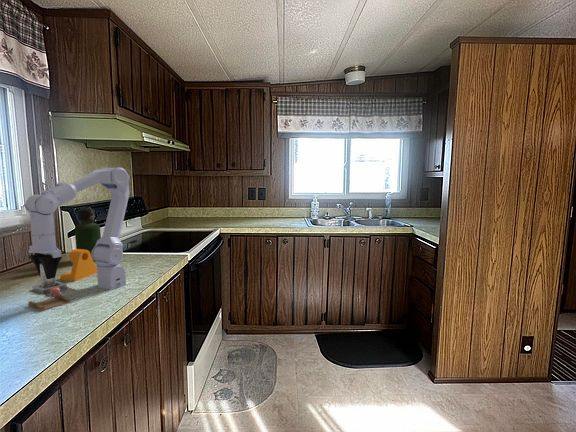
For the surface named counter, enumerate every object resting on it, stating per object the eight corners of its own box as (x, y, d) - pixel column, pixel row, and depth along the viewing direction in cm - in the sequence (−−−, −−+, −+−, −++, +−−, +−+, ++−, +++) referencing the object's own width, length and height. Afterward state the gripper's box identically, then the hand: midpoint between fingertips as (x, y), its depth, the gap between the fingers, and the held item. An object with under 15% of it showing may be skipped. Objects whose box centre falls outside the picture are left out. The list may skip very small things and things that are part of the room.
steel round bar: (58, 283, 102) (56, 262, 101) (46, 287, 99) (44, 265, 98) (50, 282, 103) (48, 261, 102) (38, 285, 100) (36, 263, 99)
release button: (61, 295, 111) (61, 288, 111) (53, 297, 109) (53, 290, 109) (57, 293, 112) (57, 287, 112) (50, 296, 110) (49, 289, 110)
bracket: (82, 274, 135) (79, 245, 134) (97, 275, 134) (95, 246, 132) (59, 282, 125) (56, 252, 123) (75, 283, 123) (73, 253, 122)
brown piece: (70, 305, 103) (70, 298, 103) (42, 314, 96) (41, 307, 96) (57, 300, 107) (56, 293, 107) (28, 308, 100) (28, 302, 100)
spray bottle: (74, 263, 150) (70, 210, 147) (80, 258, 160) (76, 207, 156) (99, 262, 153) (96, 209, 150) (104, 256, 163) (101, 207, 160)
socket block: (77, 292, 114) (76, 286, 114) (51, 300, 107) (51, 293, 107) (56, 286, 121) (56, 280, 120) (31, 292, 114) (30, 286, 113)
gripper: (16, 233, 99) (20, 276, 101) (40, 238, 92) (44, 284, 94) (42, 230, 105) (46, 271, 107) (67, 234, 98) (70, 278, 100)
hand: (47, 277), depth 101 cm, fingers closed on steel round bar, 4 cm apart
